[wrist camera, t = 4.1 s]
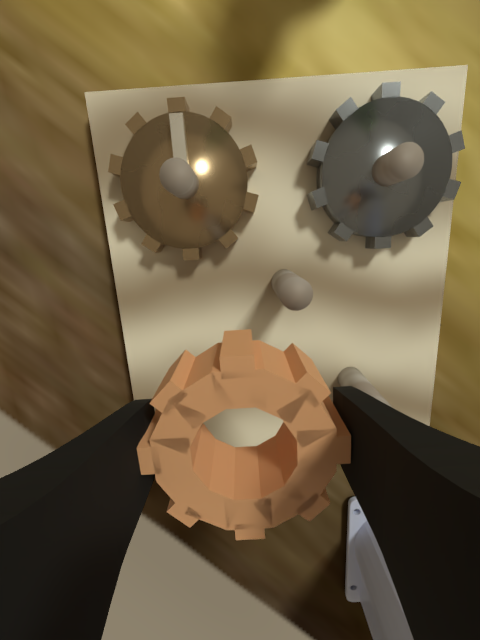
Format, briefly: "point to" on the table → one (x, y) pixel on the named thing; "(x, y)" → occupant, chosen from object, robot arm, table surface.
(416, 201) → the gear
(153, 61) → the table surface
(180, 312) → the gear board
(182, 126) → the gear
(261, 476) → the idler gear
